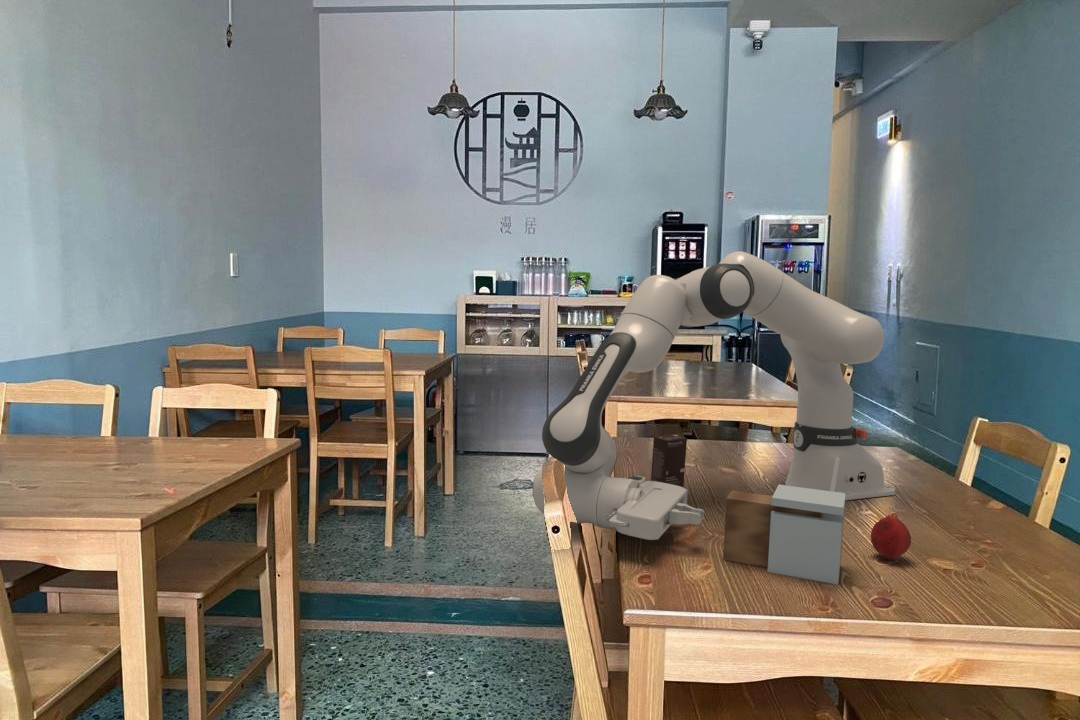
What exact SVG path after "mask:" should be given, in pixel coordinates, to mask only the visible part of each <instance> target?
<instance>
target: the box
mask: <svg viewBox="0 0 1080 720" xmlns="http://www.w3.org/2000/svg"><path fill="white" fill-rule="evenodd" d="M687 443H688V438H687V437H685V436H681V435H678V434H675V433H673V434H671V433H670V434H663V435H657V436H656V435H655V436H653V444H652V456H651V457H652V458H651V474H650V481H657V482H662V483H667V484H672V485H677V486H680V487H683V488H684V485H685V484H684V483H685V471H686V468H685V467H686V459H687V457H686V456H687V445H688V444H687Z"/></svg>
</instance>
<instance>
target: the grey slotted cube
mask: <svg viewBox="0 0 1080 720" xmlns="http://www.w3.org/2000/svg"><path fill="white" fill-rule="evenodd" d="M772 496H773V497H772V505H773V506H780V507H787V508H794V509H800V510H807V511H814V512H821V513H823V518H817V517H810V516H804V515H797V514H790V513H783V512H777V511H772V512H771V523H770V539H769V556H768V568H767V572H768V573H771V574H772V573H773V574H777V575H783V576H788V577H789V576H790V577H794V578H798V579H799V578H800V579H805V580H811V581H817V582H821V583H828V584H833V585H839V580H840V569H841V567H842V565H841V564H842V550H843V547H842V546H843V537H844V523H845V522H844V521H845V520H844V519H845V503H846V500H845V496H846V493H839V492H832V491H824V490H816V489H809V488H801V487H794V486H786V485H785V484H778V485H777V487H776V489H775V491H774V493H773V494H772Z"/></svg>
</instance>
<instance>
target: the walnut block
mask: <svg viewBox="0 0 1080 720" xmlns="http://www.w3.org/2000/svg"><path fill="white" fill-rule="evenodd" d="M772 497H773V495H769V494H768V495H767V494H759V493H755V492H746V491H739V490H731V491H730V493H729V494H728V495H727V497H726V499H725V517H724V534H723V535H724V537H723V538H724V540H723V554H722V556H723V557H722V560H723V561H729V562H735V563H740V564H746V565H752V566H758V567H763V568H767V569H768V556H769V539H770V523H771V512H772V511H777V512H783V513H790V514H797V515H804V516H810V517H817V518H823V513H821V512H814V511H807V510H800V509H794V508H787V507H780V506H773V505H772Z"/></svg>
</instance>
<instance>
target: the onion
mask: <svg viewBox="0 0 1080 720" xmlns="http://www.w3.org/2000/svg"><path fill="white" fill-rule="evenodd" d="M898 516H899V514H898V513H897V512H896V511H892V512H891V511H890V513H888V514H887V515H886V517H883V518H881V519H879V520H878V521H877V522H875V524H874V525H873V526H872V529H871V531H870V542H871V544H872V546H873V548H874V550H875V551H876V552H877V553H878V554H879V555H880V556H882V557H883V558H884V559H885V560H887V561H893V560H895V559H897V558H898V557H901V556H902V555H904V554H905V553H906V552H907V551H908V550H909V549H910V547H911V544H912V537H911V533H910V531H909V529H908V527H907V526H906V524H904V522H903V521H902V520H900V519H899V518H898Z"/></svg>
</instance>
